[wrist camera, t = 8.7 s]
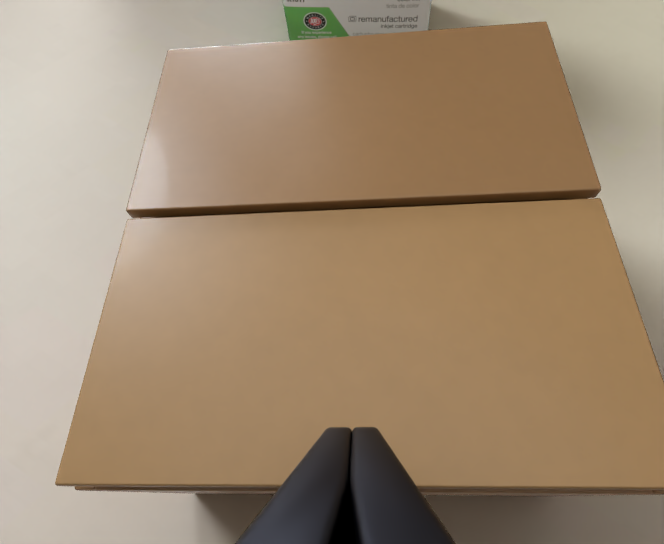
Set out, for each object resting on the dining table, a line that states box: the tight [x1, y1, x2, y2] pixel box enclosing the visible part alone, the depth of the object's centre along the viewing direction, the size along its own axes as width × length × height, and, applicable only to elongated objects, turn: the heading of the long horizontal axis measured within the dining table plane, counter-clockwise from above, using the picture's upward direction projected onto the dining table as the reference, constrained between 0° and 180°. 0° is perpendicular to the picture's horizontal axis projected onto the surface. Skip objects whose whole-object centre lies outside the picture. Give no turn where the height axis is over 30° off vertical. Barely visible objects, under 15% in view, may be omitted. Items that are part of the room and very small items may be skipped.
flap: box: [55, 198, 664, 490], centre depth 11 cm, size 7×13×1 cm, turn 90°
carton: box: [75, 22, 664, 496], centre depth 16 cm, size 14×13×8 cm
